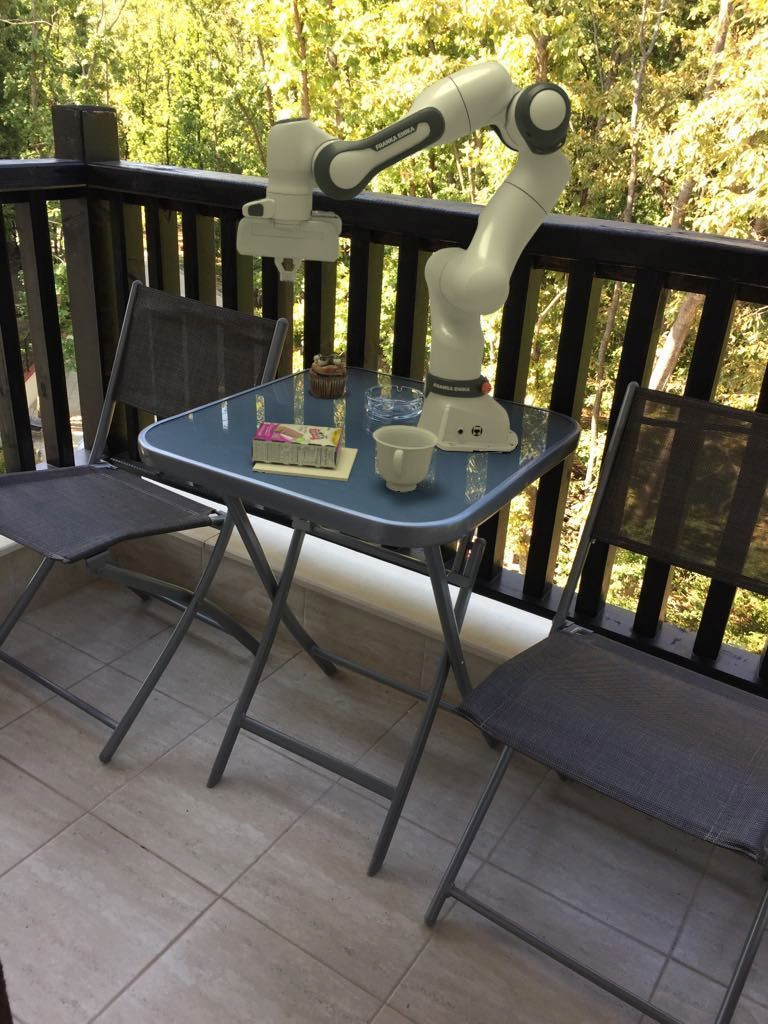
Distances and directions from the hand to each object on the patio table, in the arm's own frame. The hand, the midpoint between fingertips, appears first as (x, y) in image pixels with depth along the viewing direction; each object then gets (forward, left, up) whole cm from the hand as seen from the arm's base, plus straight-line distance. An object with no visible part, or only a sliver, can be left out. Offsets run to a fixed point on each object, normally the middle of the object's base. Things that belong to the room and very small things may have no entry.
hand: (287, 280), depth 173 cm
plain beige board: (-8, +18, -31) cm, 37 cm away
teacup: (-27, +27, -31) cm, 50 cm away
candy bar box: (+2, +18, -28) cm, 33 cm away
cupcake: (-5, -27, -31) cm, 41 cm away
